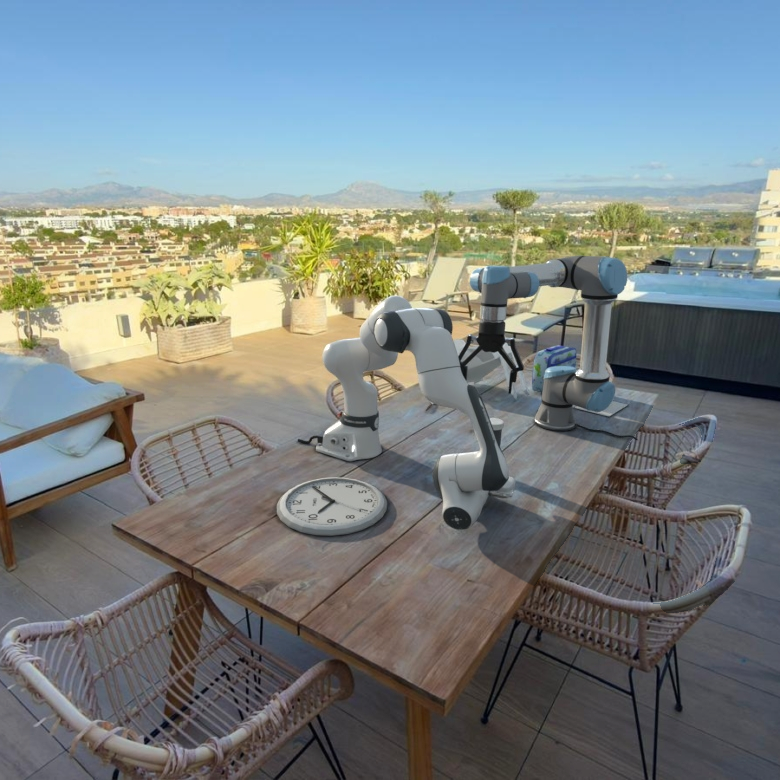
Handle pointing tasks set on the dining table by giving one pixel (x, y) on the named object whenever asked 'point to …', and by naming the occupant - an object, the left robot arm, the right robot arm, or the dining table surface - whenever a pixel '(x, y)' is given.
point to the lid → (496, 423)
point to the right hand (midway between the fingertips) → (486, 390)
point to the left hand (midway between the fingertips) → (483, 469)
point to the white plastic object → (488, 364)
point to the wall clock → (331, 506)
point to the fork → (429, 406)
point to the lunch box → (551, 363)
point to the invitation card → (608, 409)
